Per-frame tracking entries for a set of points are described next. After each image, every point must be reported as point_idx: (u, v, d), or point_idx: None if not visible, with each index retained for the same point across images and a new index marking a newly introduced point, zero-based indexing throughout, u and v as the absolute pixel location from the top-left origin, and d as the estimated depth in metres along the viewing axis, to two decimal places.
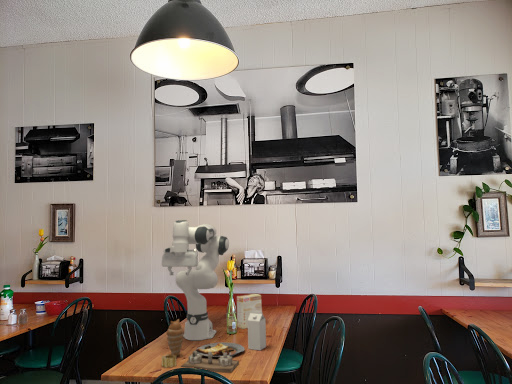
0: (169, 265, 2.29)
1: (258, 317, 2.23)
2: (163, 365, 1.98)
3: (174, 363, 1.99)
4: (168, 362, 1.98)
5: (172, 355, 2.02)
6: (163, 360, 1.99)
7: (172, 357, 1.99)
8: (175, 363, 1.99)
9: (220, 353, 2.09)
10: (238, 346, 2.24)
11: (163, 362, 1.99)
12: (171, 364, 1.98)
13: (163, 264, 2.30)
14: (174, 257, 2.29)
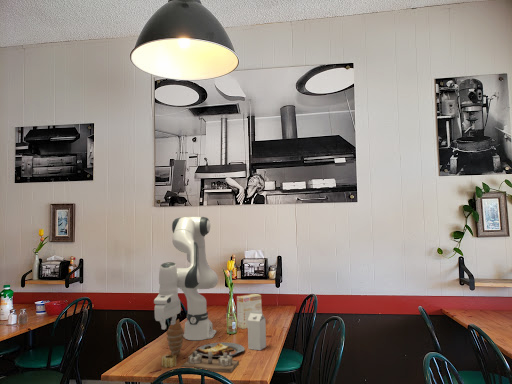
0: (166, 318, 1.96)
1: (258, 317, 2.23)
2: (163, 365, 1.98)
3: (174, 363, 1.99)
4: (168, 362, 1.98)
5: (172, 355, 2.02)
6: (163, 360, 1.99)
7: (172, 357, 1.99)
8: (175, 363, 1.99)
9: (220, 353, 2.09)
10: (238, 346, 2.24)
11: (163, 362, 1.99)
12: (171, 364, 1.98)
13: (163, 318, 1.93)
14: (168, 307, 1.99)
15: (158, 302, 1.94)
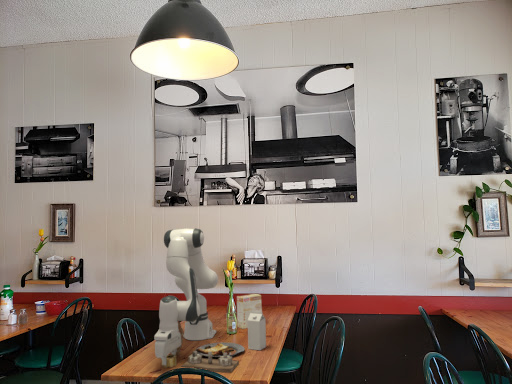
0: (167, 353, 1.95)
1: (258, 317, 2.23)
2: (163, 365, 1.98)
3: (174, 363, 1.99)
4: (168, 362, 1.98)
5: (172, 355, 2.02)
6: None
7: (172, 357, 1.99)
8: (175, 363, 1.99)
9: (220, 353, 2.09)
10: (238, 346, 2.24)
11: None
12: (171, 364, 1.98)
13: (163, 355, 1.92)
14: (169, 342, 1.98)
15: (158, 338, 1.93)
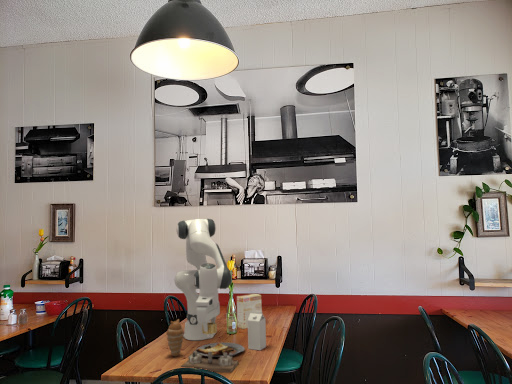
0: (208, 320, 1.93)
1: (258, 317, 2.23)
2: (204, 332, 1.96)
3: (215, 330, 1.97)
4: (209, 329, 1.95)
5: (212, 322, 2.00)
6: None
7: (213, 324, 1.97)
8: (216, 330, 1.97)
9: (220, 353, 2.09)
10: (238, 346, 2.24)
11: None
12: (212, 331, 1.95)
13: (205, 320, 1.90)
14: (210, 309, 1.96)
15: (200, 304, 1.91)
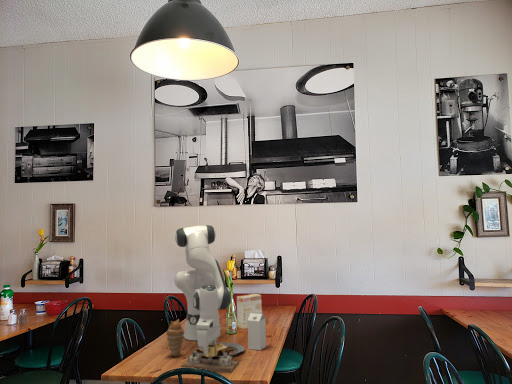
0: (209, 342, 1.92)
1: (258, 317, 2.23)
2: (204, 354, 1.95)
3: (215, 352, 1.96)
4: (209, 351, 1.95)
5: (213, 344, 1.99)
6: None
7: (213, 346, 1.96)
8: (216, 352, 1.96)
9: (220, 353, 2.09)
10: (238, 346, 2.24)
11: None
12: (212, 353, 1.94)
13: (206, 343, 1.89)
14: (210, 331, 1.95)
15: (201, 327, 1.90)
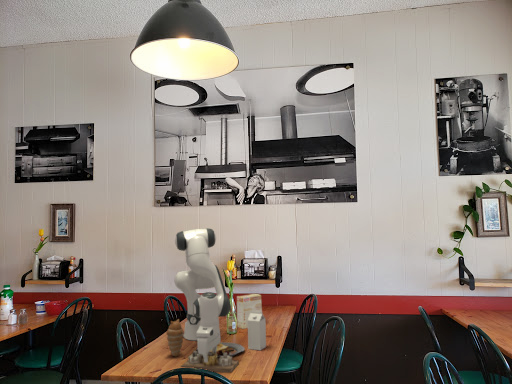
0: (209, 350, 1.92)
1: (258, 317, 2.23)
2: (204, 363, 1.95)
3: (215, 361, 1.96)
4: (210, 360, 1.95)
5: (213, 353, 1.99)
6: None
7: (213, 355, 1.96)
8: (216, 361, 1.96)
9: (220, 353, 2.09)
10: (238, 346, 2.24)
11: None
12: (213, 362, 1.94)
13: (206, 351, 1.89)
14: (210, 339, 1.95)
15: (201, 335, 1.90)
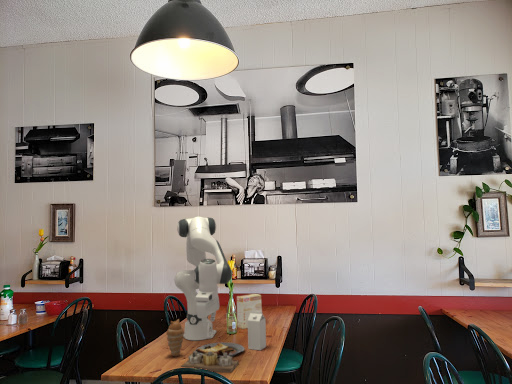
0: (208, 315, 1.94)
1: (258, 317, 2.23)
2: (204, 363, 1.95)
3: (215, 361, 1.96)
4: (210, 360, 1.95)
5: (213, 353, 1.99)
6: (204, 358, 1.95)
7: (213, 355, 1.96)
8: (216, 361, 1.96)
9: (220, 353, 2.09)
10: (238, 346, 2.24)
11: (204, 360, 1.95)
12: (213, 362, 1.94)
13: (205, 315, 1.91)
14: (209, 304, 1.97)
15: (200, 299, 1.92)
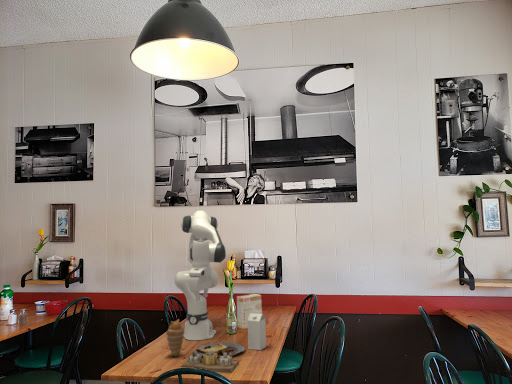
0: (200, 289, 2.06)
1: (258, 317, 2.23)
2: (204, 363, 1.95)
3: (215, 361, 1.96)
4: (210, 360, 1.95)
5: (213, 353, 1.99)
6: (204, 358, 1.95)
7: (213, 355, 1.96)
8: (216, 361, 1.96)
9: (220, 353, 2.09)
10: (238, 346, 2.24)
11: (204, 360, 1.95)
12: (213, 362, 1.94)
13: (197, 289, 2.02)
14: (202, 280, 2.09)
15: (193, 274, 2.03)
